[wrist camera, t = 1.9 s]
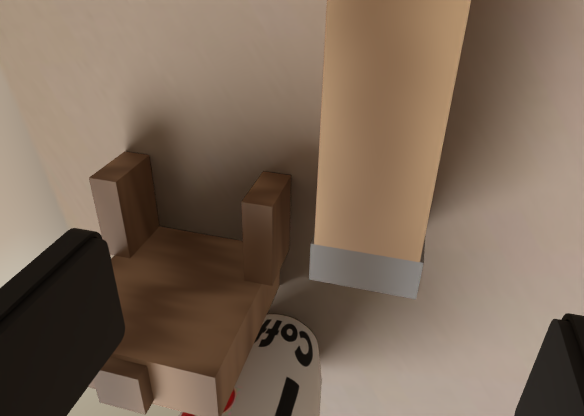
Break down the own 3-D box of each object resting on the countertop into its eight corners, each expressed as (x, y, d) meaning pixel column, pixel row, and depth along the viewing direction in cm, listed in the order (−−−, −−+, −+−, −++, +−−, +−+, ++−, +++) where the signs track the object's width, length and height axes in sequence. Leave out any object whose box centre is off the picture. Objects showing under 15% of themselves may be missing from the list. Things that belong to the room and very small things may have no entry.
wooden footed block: (291, 175, 27) (213, 306, 18) (288, 287, 31) (224, 439, 22) (124, 151, 29) (-20, 257, 20) (143, 259, 33) (31, 387, 24)
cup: (346, 311, 31) (310, 458, 22) (335, 395, 35) (300, 545, 27) (225, 285, 32) (149, 413, 24) (228, 368, 36) (165, 501, 28)
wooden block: (478, -74, 19) (490, -71, 14) (421, 226, 26) (416, 299, 21) (355, -78, 20) (326, -76, 15) (333, 213, 27) (308, 279, 22)
